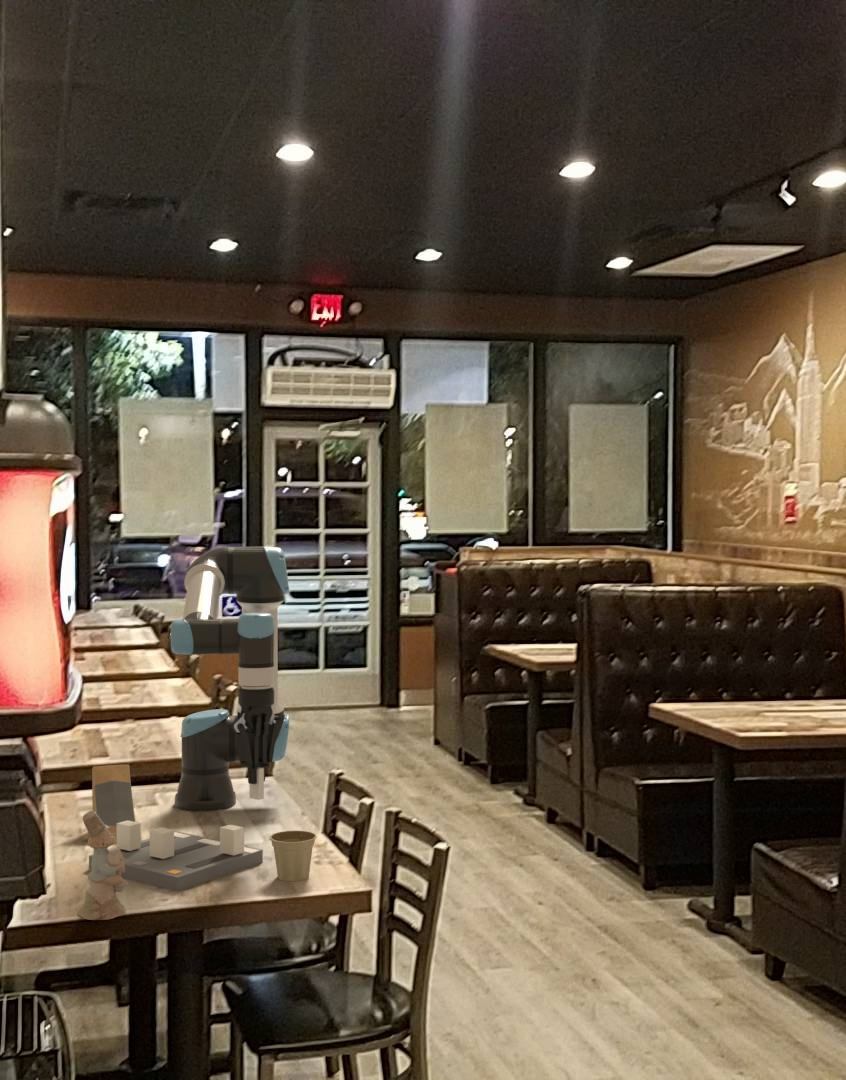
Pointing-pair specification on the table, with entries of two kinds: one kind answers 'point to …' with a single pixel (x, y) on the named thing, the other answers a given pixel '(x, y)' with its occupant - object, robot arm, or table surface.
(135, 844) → the side handle
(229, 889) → the table surface
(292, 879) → the flower pot
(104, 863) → the figurine
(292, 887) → the table surface
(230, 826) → the white upright block
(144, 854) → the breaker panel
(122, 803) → the sandwich container
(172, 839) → the middle handle
